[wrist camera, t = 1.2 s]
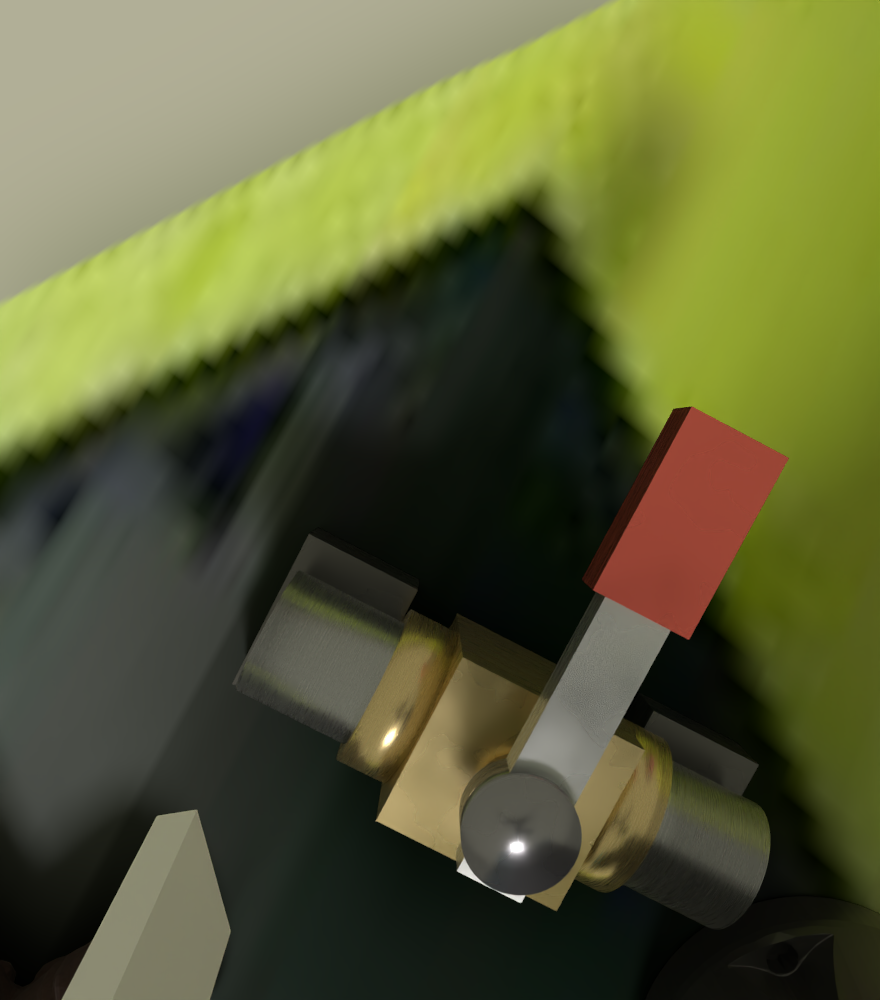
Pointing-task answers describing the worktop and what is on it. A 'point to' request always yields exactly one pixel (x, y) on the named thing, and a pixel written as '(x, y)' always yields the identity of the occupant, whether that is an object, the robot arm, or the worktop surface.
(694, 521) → the lever
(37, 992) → the pipe
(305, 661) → the valve pipe
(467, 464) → the worktop surface
